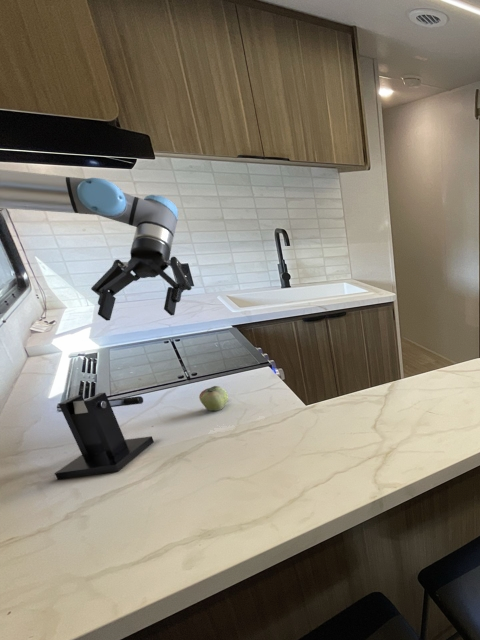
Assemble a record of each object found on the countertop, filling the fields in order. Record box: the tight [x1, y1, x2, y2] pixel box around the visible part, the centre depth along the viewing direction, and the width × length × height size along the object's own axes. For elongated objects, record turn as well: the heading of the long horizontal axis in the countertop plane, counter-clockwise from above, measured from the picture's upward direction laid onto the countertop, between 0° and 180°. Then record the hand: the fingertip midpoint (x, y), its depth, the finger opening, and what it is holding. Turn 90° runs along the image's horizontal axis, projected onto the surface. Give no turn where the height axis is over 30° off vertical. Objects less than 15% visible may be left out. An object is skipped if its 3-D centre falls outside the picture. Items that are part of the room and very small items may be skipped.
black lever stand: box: [54, 392, 155, 481], centre depth 80 cm, size 12×10×14 cm
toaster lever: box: [73, 395, 144, 414], centre depth 83 cm, size 12×6×2 cm, turn 11°
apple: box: [198, 385, 229, 412], centre depth 105 cm, size 6×8×6 cm
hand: (136, 314), depth 95 cm, fingers open, 13 cm apart
